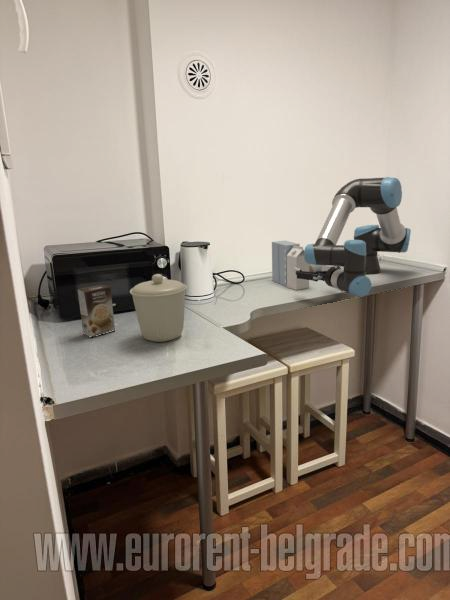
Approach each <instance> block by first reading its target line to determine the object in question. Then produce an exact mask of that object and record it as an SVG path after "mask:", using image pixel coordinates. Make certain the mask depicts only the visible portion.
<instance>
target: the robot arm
mask: <svg viewBox="0 0 450 600" xmlns="http://www.w3.org/2000/svg"><path fill="white" fill-rule="evenodd" d="M402 198H403V191H402V183H401V181H400V180H399V178H397V177H389V176H385V177H371V178H365V177H364V178H356V179H353V180H351V181H349V182H347V183H346V184H344V185H343V186H341V188H340V189H338V191H337V192H336V193H335V195H334V197H333V198H332V202H331V205H332V207H331V209H330V211H329V213H328V215H327V217H326V220H325V222H324V223H323V225H322V228H321V230H320V232H319V234H318V236H317V238H316V241H315V242H314V243H310V244H306V246H305V247H304V249H303V250H304V259H305V262H306V263H308V264H314V265H321V270H322V271H317V272H308V271H303V270H302V269H298V268H294V274H295V275H297V278H298V279H306V280H309V281H313V282H318V281H323V282H324V283H325V284H326V285H327V286H328V287H330V288H331V287H332V288H335V289H337V290H340V291H341V292H346V293H348V294H350V295H352V296H357V297H364V296H366V295H368V294H369V293H370V291H371V288H372V281H371V278H369V277H368V276H366V275H373V274H379V273H380V272H381V266H380V261H379V258H378V252H379V253H380V252H382V253H384V252H386V253H399V254H400V253H406V252H408V249H409V245H410V241H411V239H410V238H411V233H412V232H411V231H412V230H411V229H410V228H408V227H405V226H404V225H403V224H402V223H401V219H400V216H399V211H398V207H399V206H400V205H401V202H402ZM356 208H369V209H370V210H371V213H373V214H375V215H376V218H377V221H378V223H379V224H370V225H369V224H368V225H367V224H366V225H362V226H358V227H356V228H355V229H354V232H353V239H347V240H345V241H344V243H343V245H342V244H340V245H338V244H337V243H338V242H339V238H340V236H341V235H342V233H343V230H344V227H345V225H346V224H347V221H348V219H349V217H350V214H351V213H352V212H354V210H355V209H356ZM342 267H343V269H342ZM319 273H320V275H319Z"/></svg>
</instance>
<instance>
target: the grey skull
mask: <svg viewBox="0 0 450 600" xmlns="http://www.w3.org/2000/svg"><path fill="white" fill-rule="evenodd" d="M317 271H322V270H321V265H314V264H309V272H317ZM319 276H320V273H319Z"/></svg>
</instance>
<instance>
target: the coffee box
mask: <svg viewBox="0 0 450 600" xmlns="http://www.w3.org/2000/svg"><path fill="white" fill-rule="evenodd" d="M77 294H78V304H79V310H80V311H79V312H80V318H81V326H82V328H81V329H82V333H83V332H84V333H85V334H87V335H88V336H91V337H92V336H96V335H99V334H103V333H106V332H109V331H112V330H115V331H116V326H115V318H114V309H113V299H112V290H111V286H110V285H109V286H108V285H107V284H99V285H98V284H97V285H92V286H87V287H82V288H77ZM88 336H87V337H88Z"/></svg>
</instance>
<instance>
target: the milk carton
mask: <svg viewBox="0 0 450 600" xmlns="http://www.w3.org/2000/svg"><path fill="white" fill-rule="evenodd" d="M304 250H305V249H304V246H295V245H293V248H292V249H291V251H290V252H289V253H288V254H287V288H288V289H292V290H294V291H299V290H305V289H309V288H310V280H306V279H298V278H297V275H295V274H294V268H298V269H302V270H303V271H308V272H309V264H308V263H306V262H305V259H304Z"/></svg>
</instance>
